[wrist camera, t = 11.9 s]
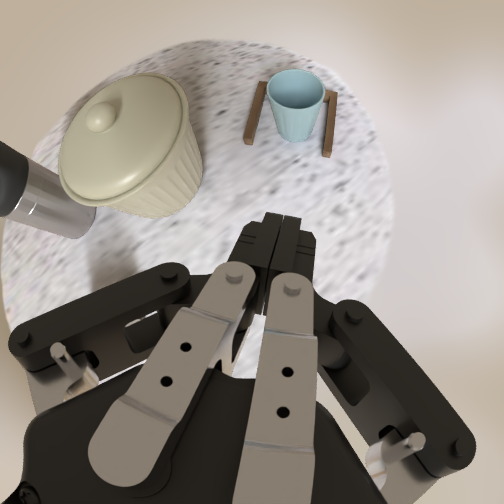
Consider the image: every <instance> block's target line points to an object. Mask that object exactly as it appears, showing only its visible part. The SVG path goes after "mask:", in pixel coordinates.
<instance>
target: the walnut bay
mask: <svg viewBox="0 0 504 504" xmlns="http://www.w3.org/2000/svg"><path fill="white" fill-rule="evenodd" d="M267 83H268V82H263V81H259V83H258V87H257V90H256V94H255V97H254V101H253V104H252V108H251V111H250V115H249V119H248V122H247V126H246V130H245V133H244V137H243V139H244V142H245V144H247V145H253V141H254V137H255V133H256V129H257V125H258V121H259V117H260V113H261V109H262V106H263V102H264V98H265V94H267ZM337 94H338V92H333V91H328V90H325V96H324V99H323V102H326V103H329V106H328V115H327V123H326V132H325V140H324V147H323V155H322V156H323V157H328V158H330V156H331V152H332V145H333V136H334V126H335V116H336V106H337Z"/></svg>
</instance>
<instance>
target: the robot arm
mask: <svg viewBox="0 0 504 504" xmlns="http://www.w3.org/2000/svg"><path fill="white" fill-rule="evenodd" d="M95 211H96V207H92V206H86V205H83V204H80V203H78V202H76V201H74V200H73V199H72V198H71V197H69V195H68V194H67V193H66V192H65V190H64V188H63V186H62V184H61V181H60V178H59V175H57V174H56V173H54V172H52V171H50V170H49V169H47V168H45V167H43V166H42V165H40V164H38V163H36V162H34V161H33V160H31V159H29V158H27V157H26V156H24V155H22V154H20V153H19V152H17V151H15V150H14V149H12V148H11V147H9V146H8V145H6V144H5V143H3V142H1V141H0V217H4V218H7V219H10V220H13V221H16V222H19V223H22V224H25V225H29V226H32V227H35V228H38V229H41V230H44V231H48V232H51V233H54V234H57V235H61V236H64V237H67V238H71V239H77V238H80V237H81V236H83V235H84V234H85V233H86V232H87V231H88V230H89V228H90V227H91V225H92V223H93V220H94V217H95ZM301 219H302V218H297V217H292V216H287V215H285V216H284V219H283V215H281V214H276V213H270V212H266V214H265V216H264V219H263V221H262V223H260V222H255V221H251V222H250V223H248V224H247V225H246V226H244V228H243V230H242V232H241V234H240V236H239V238H238V240H237V242H236V244H235V246H234V248H233V250H232V252H231V254H230V257H229V259H228V261H227V262H226V263H223V264H221V265H219V266H218V267H217V268H216V269H215V270H214V272H213V273H212V274H208V275H190V273H189V270H188V269H187V268H186V267H185V266H184V265H182V264H180V263H175V262H169V263H163V264H160V265H158V266H155V267H153V268H151V269H148V270H146V271H143V272H141V273H138V274H136V275H133V276H131V277H129V278H126V279H124V280H121V281H119V282H117V283H114V284H112V285H109V286H107V287H105V288H102V289H100V290H98V291H95V292H93V293H91V294H88V295H86V296H83V297H81V298H79V299H76V300H74V301H72V302H70V303H67V304H65V305H63V306H60V307H58V308H56V309H53V310H51V311H49V312H47V313H44V314H42V315H40V316H38V317H35V318H33V319H31V320H29V321H26V322H24V323H22V324H20V325H18V326H17V327H16V328H15V329H14V330H13V331H12V333H11V335H10V337H9V341H8V346H9V350H10V352H11V353H12V354H13V356H14V357H15V358H16V359H17V360H18V361H19V363H20V364H21V365H22V367H23V368H24V369H25V371H26V374H27V378H28V383H29V387H30V391H31V396H32V399H33V403H34V407H35V411H36V414H37V416H36V417H35V418H34V419H33V420H32V421H31V423H30V424H29V426H28V427H27V430H26V432H25V436H24V443H23V447H24V449H23V450H24V459H23V460H24V462H23V472H22V478H21V481H20V484H19V486H18V487H17V489H16V490H15V491H14V492H13V493H12V494H11V495H10V496H9V497H8V498H7V499H6V500H5V501H4V502H2V503H1V504H413V503H414V502H415V501H416V500H417V499H419V498H420V497H421V496H422V495H423V494H424V493H425V492H426V491H427V490H428V489H429V488H430V487H431V486H432V485H433V484H434V483H435V482H436V481H437V480H438V479H440V478H442V477H444V476H447V475H449V474H452V473H454V472H457V471H459V470H461V469H464V468H465V467H467V466H468V465H469V464H470V463H471V462H472V460H473V458H474V456H475V452H476V441H475V438H474V436H473V434H472V432H471V431H470V430H469V428H468V427H467V426H466V424H465V423H464V422H463V420H462V419H461V418H460V416H459V415H458V414H457V412H456V411H455V410H454V409H453V407H451V405H450V404H449V402H448V401H447V400H446V399H445V397H444V396H443V395H442V393H441V392H440V391H439V390H438V388H437V387H436V386H435V385H434V384H433V382H432V381H431V380H430V379H429V377H428V376H427V375H426V374H425V373H424V371H423V370H422V369H421V368H420V366H419V365H418V364H417V363H416V362H415V360H414V359H413V358H412V357H411V356H410V355H409V353H408V352H407V351H406V350H405V349H404V348H403V346H402V345H401V344H400V343H399V342H398V340H397V339H396V338H395V337H394V336H393V335H392V334H391V332H390V331H389V330H388V329H387V328H386V327H385V326H384V324H383V323H382V322H381V321H380V320H379V319H378V318H377V317H376V316H375V314H374V313H373V312H372V311H371V310H370V309H369V308H368V307H367V306H366V305H365V304H363V303H361V302H359V301H356V300H349V299H347V300H342V301H340V302H338V303H337V304H333V303H331V302H329V301H327V300H325V299H323V298H322V297H321V296H319V295H318V294H317V292H316V291H315V290H314V288H313V284H312V279H313V270H314V259H315V248H316V239H315V237H314V235H313V233H312V232H308V231H303V230H300V225H301ZM264 302H265V304H264ZM263 306H264V310H263V315H265V316H266V321H265V327H264V333H263V339H262V345H261V351H260V356H259V362H258V368H257V374H256V379H242V378H233V377H231V376H232V372H233V369H234V366H235V364H236V362H237V359H238V357H239V355H240V352H241V350H242V347H243V345H244V343H245V340H246V338H247V335H248V333H249V330H250V325H251V323H252V321H253V318H254V314H259V315H261V313H262V309H263ZM154 311H157V313H156V314H153V315H151V316H149V317H147V318H145V319H142V320H140V321H138V322H136V323H134V324H131V325H129V326H127V327H125V326H126V325H127V324H129V323H130V322H132V321H135V320H137V319H139V318H141V317H143V316H146V315H148V314H150V313H152V312H154ZM146 359H147V361H146V362H145V363H144V364H141V365H138V366H136V367H134V368H132V369H130V370H128V371H126V372H124V373H122V374H120V375H118V376H116V377H114V378H112V379H110V380H108V381H106V382H104V383H102V384H100V385H98V382H99V381H101V380H103V379H105V378H107V377H110V376H112V375H114V374H116V373H118V372H120V371H122V370H125V369H127V368H129V367H131V366H133V365H135V364H137V363H139V362H141V361H143V360H146ZM317 372H318V373H319V375H320V376H321V378H322V379H323V380H324V382H325V383H326V385H327V386H328V388H329V389H330V391H331V392H332V394H333V395H334V396H335V398H336V399H337V401H338V402H339V403H340V405H341V406H342V408H343V409H344V411H345V412H346V414H347V415H348V417H349V418H350V419H351V421H352V422H353V424H354V425H355V427H356V428H357V430H358V431H359V432H360V434H361V435H362V436H363V438H364V440H365V441H366V442H367V444H368V445H369V449H368V451H367V453H366V459H365V461H366V466H367V468H368V470H369V473H370V475H369V473H368V472H367V470H366V469H365V467H364V466H363V464H362V462H361V461H360V459H359V458H358V456H357V454H356V453H355V451H354V449H353V448H352V446H351V445H350V443H349V442H348V440H347V438H346V437H345V435H344V434H343V432H342V430H341V429H340V427H339V425H338V424H337V422H336V421H335V419H334V418H333V416H332V415H331V414H330V413H329V411H328V410H327V409H326V408H325V407H323V406H322V404H320V403H319V402H317V401H316V385H317Z"/></svg>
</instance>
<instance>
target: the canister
mask: <svg viewBox="0 0 504 504" xmlns="http://www.w3.org/2000/svg"><path fill="white" fill-rule="evenodd" d="M188 117H189V106H188V100H187V97H186V94H185V92H184V90H183V89H182V87H181V86H180V85H179V84H178V83H177V82H176V81H175V80H173V79H172V78H170V77H168V76H165V75H162V74H157V73H140V74H134V75H131V76H127V77H124V78H122V79H119V80H117V81H115V82H113V83H111V84H110V85H108V86H106V87H105V88H103V89H102V90H100V91H99V92H98V93H97V94H95V95H94V96H93V97H92V98H91V99H90V100H89V101H88V102H87V103H86V104H85V105H84V106H83V107H82V108H81V109H80V111H79V112H78V113H77V115H76V116H75V117H74V119H73V120H72V122H71V124H70V126H69V127H68V129H67V131H66V134H65V136H64V138H63V141H62V144H61V148H60V152H59V159H58V171H59V178H60V181H61V184H62V186H63V188H64V190H65V192H66V193H67V194H68V195H69V197H71V198H72V199H73V200H74V201H76V202H78V203H80V204H83V205H86V206H92V207H100V206H106V207H109V208H113V209H116V210H119V211H122V212H126V213H129V214H133V215H137V216H141V217H146V218H161V217H167V216H169V215H172V214H174V213H176V212H178V211H180V210H181V209H182V208H183V207H185V206H186V205H187V204H188V203H189V202H190V201H191V199H192V198H193V197H194V196H195V193H196V192H197V191H198V188H199V186H200V184H201V179H202V172H203V167H202V158H201V154H200V151H199V148H198V144H197V141H196V138H195V135H194V132H193V129H192V127H191V124H190V121H189V118H188Z"/></svg>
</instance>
